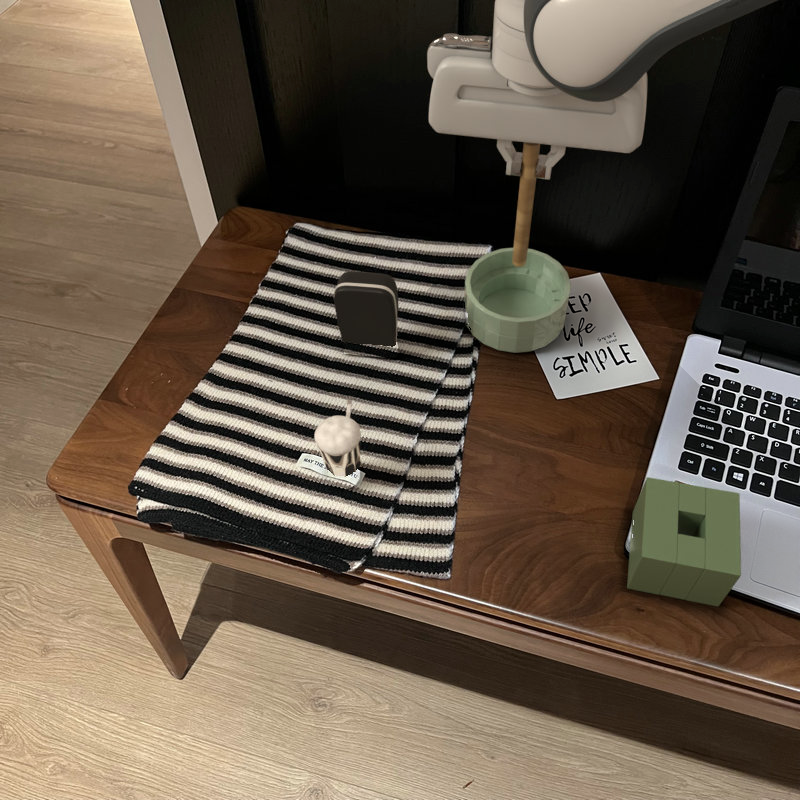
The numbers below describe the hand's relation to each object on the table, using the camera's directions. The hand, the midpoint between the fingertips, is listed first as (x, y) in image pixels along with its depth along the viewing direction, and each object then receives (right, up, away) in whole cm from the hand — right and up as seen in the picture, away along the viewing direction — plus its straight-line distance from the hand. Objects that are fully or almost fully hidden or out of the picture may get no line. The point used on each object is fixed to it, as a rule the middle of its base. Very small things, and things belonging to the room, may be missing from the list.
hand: (528, 173), depth 79 cm
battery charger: (-16, -17, +15) cm, 28 cm away
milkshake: (-19, -31, +5) cm, 37 cm away
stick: (0, -2, +3) cm, 4 cm away
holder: (+14, -38, -3) cm, 41 cm away
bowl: (+1, -13, +17) cm, 21 cm away
